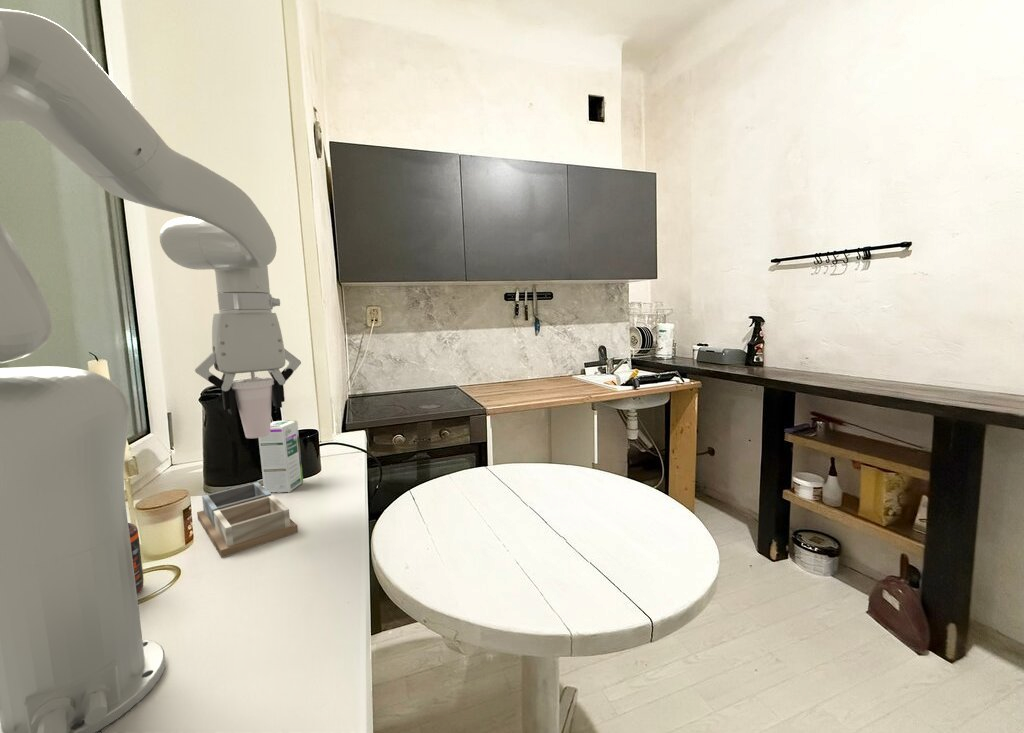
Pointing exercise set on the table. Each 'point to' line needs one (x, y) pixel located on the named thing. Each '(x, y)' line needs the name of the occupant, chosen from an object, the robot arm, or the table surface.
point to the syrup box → (281, 457)
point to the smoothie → (254, 405)
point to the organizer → (244, 518)
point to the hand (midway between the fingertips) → (255, 409)
